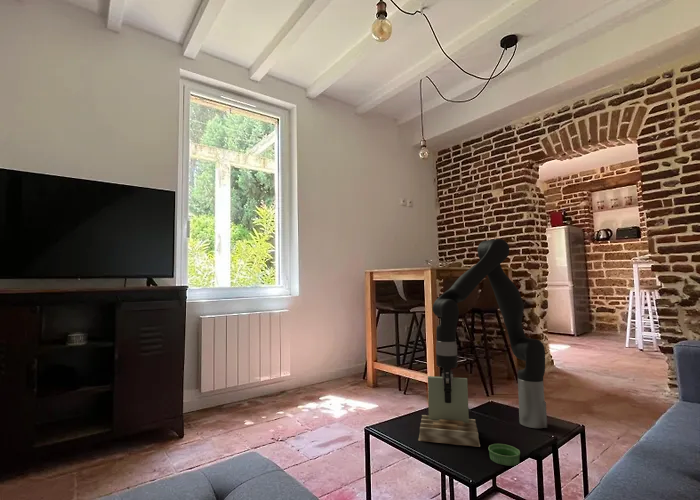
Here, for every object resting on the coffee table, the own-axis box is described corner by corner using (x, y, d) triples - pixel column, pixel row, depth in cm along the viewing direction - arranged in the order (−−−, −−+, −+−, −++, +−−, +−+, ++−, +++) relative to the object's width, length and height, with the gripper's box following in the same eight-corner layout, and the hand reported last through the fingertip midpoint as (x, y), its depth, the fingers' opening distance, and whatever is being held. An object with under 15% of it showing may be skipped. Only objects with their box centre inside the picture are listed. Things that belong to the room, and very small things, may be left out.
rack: (477, 435, 135) (476, 419, 136) (480, 451, 122) (480, 433, 122) (420, 430, 140) (420, 414, 141) (418, 445, 127) (418, 428, 127)
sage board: (468, 423, 135) (467, 378, 136) (468, 425, 133) (467, 379, 135) (429, 420, 138) (428, 376, 140) (428, 422, 136) (427, 377, 138)
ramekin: (525, 473, 108) (524, 457, 108) (492, 471, 109) (492, 455, 109) (515, 459, 117) (514, 444, 117) (485, 457, 118) (485, 442, 118)
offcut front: (457, 439, 127) (457, 424, 128) (457, 442, 125) (457, 426, 126) (433, 437, 129) (433, 422, 130) (433, 439, 127) (433, 424, 128)
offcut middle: (463, 435, 131) (462, 420, 131) (463, 437, 129) (463, 422, 130) (439, 433, 133) (439, 418, 133) (439, 435, 131) (439, 420, 132)
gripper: (457, 357, 131) (459, 408, 129) (456, 350, 144) (458, 397, 142) (435, 356, 132) (437, 406, 131) (436, 349, 146) (437, 395, 144)
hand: (448, 401), depth 136 cm, fingers closed on sage board, 2 cm apart
